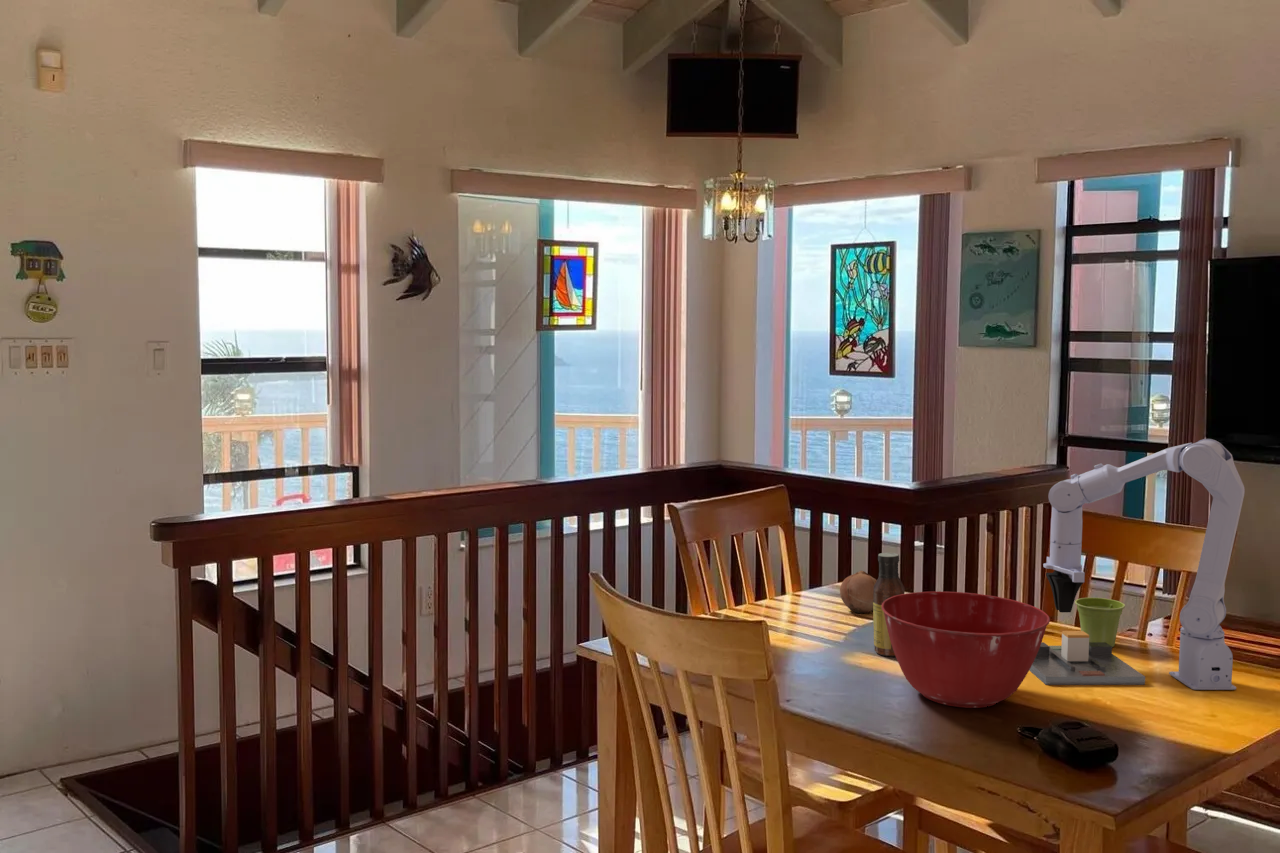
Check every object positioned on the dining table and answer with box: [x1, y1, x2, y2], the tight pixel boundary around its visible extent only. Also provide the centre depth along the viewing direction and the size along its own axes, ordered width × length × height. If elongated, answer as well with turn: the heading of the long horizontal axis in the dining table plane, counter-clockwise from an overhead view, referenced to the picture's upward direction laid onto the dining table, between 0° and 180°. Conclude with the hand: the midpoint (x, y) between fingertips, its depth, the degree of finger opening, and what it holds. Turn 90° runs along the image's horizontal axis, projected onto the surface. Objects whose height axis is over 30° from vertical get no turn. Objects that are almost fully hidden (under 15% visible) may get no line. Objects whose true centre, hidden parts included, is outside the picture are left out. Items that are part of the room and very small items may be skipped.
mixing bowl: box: [881, 591, 1051, 709], centre depth 204 cm, size 28×28×15 cm
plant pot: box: [1074, 597, 1126, 648], centre depth 237 cm, size 9×9×9 cm
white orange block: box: [1061, 630, 1089, 661], centre depth 221 cm, size 3×4×5 cm
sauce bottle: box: [872, 552, 906, 657], centre depth 230 cm, size 7×6×20 cm
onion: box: [839, 570, 877, 615], centre depth 263 cm, size 10×9×10 cm
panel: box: [1029, 641, 1146, 686], centre depth 221 cm, size 20×18×4 cm
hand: (1063, 610), depth 227 cm, fingers closed
